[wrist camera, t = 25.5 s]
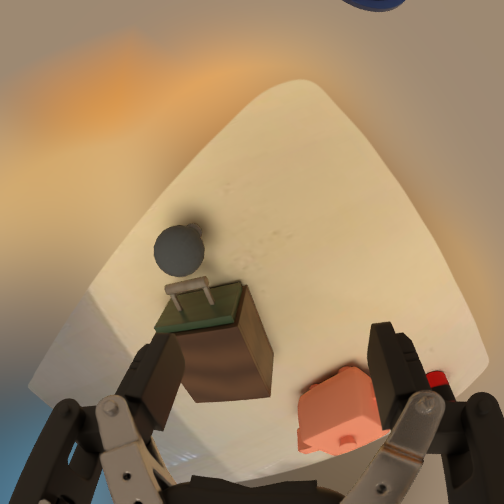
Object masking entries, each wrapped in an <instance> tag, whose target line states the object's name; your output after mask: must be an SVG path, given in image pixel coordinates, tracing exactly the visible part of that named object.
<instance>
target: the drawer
mask: <svg viewBox="0 0 504 504" xmlns="http://www.w3.org/2000/svg"><path fill="white" fill-rule="evenodd" d="M208 285H209V282H208V278H207V277H206V276H203V277H199V278H194V279H190V280H185V281H181V282H177V283H172V284H168V285H165V292H166V294H167V295H170V296H171V299H170V301H169V302H168V304H167V306H166V308H165V309H164V311H163V313H162V315H161V316H160V318H159V320H158V322H157V323H156V325H155V327H154V329H155V330H156V332H157V333H178V332H185V331H191V330H198V329H205V328H211V327H217V326H223V325H229V324H233V323H234V321H235V317H236V313H237V309H238V305H239V301H240V297H241V293H242V287H241V284H240V282H239V283H234V284H230V285H225V286H220V287H216V288H211V289H209V287H208ZM199 288H203V290H202V291H197V292H192V293H187V294H182V295H178V296H176V294H175V293H180V292H185V291H190V290H194V289H199Z"/></svg>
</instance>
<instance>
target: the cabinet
mask: <svg viewBox="0 0 504 504" xmlns="http://www.w3.org/2000/svg"><path fill="white" fill-rule="evenodd" d="M241 287H242V293H241V297H240V301H239V305H238V309H237V313H236V317H235V321H234V323H233V324H229V325H223V326H217V327H211V328H205V329H198V330H191V331H185V332H178V333H174V334H175V335H176V337H177V340H178V343H179V345H180V348H181V350H182V353H183V356H184V358H185V372H184V375H183V378H182V380H181V383H182V385H183V386H184V387H185V389H186V390H187V391H188V393H189V394H190V396H191V397H192V398H193V400H194V401H195V402H196V403H203V402H223V401H237V400H248V399H258V398H267V397H270V396H271V384H272V371H273V357H274V353H273V351H272V348H271V346H270V343H269V340H268V338H267V335H266V333H265V330H264V328H263V325H262V322H261V320H260V317H259V315H258V312H257V309H256V307H255V304H254V301H253V299H252V296H251V294H250V291H249V288H248V286H247V285H245V286H241ZM156 333H157V332H156ZM156 333H155V334H156Z"/></svg>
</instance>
